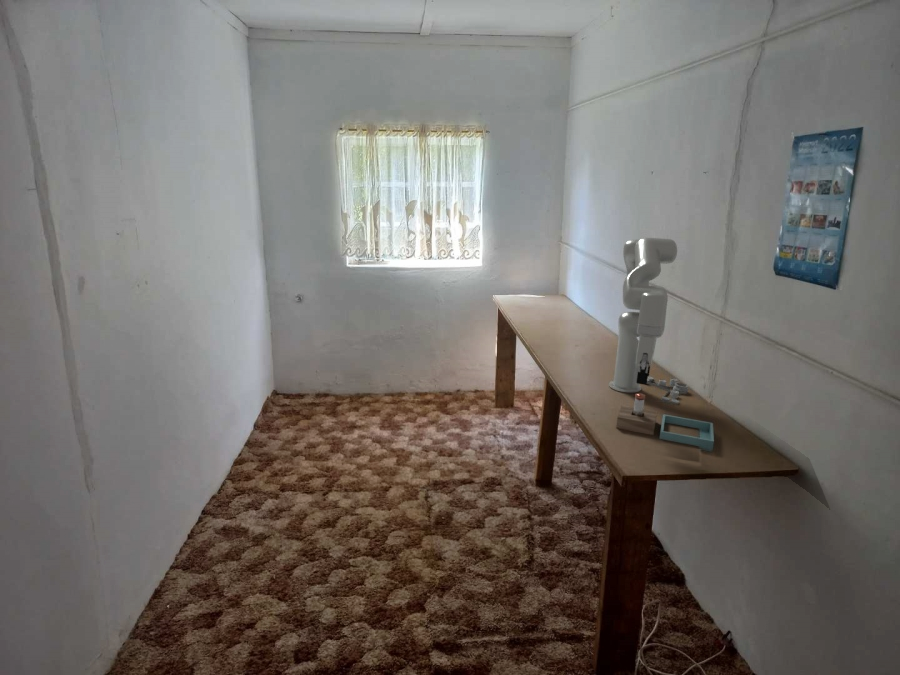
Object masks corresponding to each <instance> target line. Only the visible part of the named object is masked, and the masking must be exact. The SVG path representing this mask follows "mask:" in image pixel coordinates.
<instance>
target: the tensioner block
mask: <svg viewBox="0 0 900 675" xmlns="http://www.w3.org/2000/svg"><path fill="white" fill-rule="evenodd" d="M633 411H634V406H629V405H624V404H621V406H620V409H619V412H618V415H617V419H616V426H615V428H616V429H619V430H625V431H631V432H635V433H640V434H646V435H650V436H655V435H654V434H655V429H656V424H657V423H656V422H657V416H658V411H657V410H653V409H648V408H647V409H646V408H643V414H642V417H639V416H634V415H633Z"/></svg>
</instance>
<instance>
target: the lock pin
mask: <svg viewBox="0 0 900 675" xmlns="http://www.w3.org/2000/svg"><path fill="white" fill-rule="evenodd" d="M634 394H635V397H634V403H633V404H634V405H633V407H634V411H633V415H634V416H639V417H642V414H643V409H644V405H645V399H646V394H644V393H641V392H640V393H639V392H635V393H634Z"/></svg>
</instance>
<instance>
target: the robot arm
mask: <svg viewBox="0 0 900 675" xmlns="http://www.w3.org/2000/svg"><path fill="white" fill-rule="evenodd" d="M677 246H678V245H677V243H676V241H674V240H673V239H671V238H659V237H656V238H655V237H645V238H640V239H629V240H627V241H626V242H625V244H624V245H623V260H624V264H625V267H626V268H625V270H626V277H625V279H624V280H623V284H622V303H623V306H624V307H625V309H628V310H633V311H627V312H623V313H621V314H620V315H619V318H618V322H617V323H618V337H617V338H618V342H617V351H616V358H615V366H614V375H613V380H610V382H609V383H608V386H609V387H610V388H611V389H613V390H615V391H617V392H620V393H634V394H635V393H639V392H640V391H641V390H642V386H641V385H645V386H646V385H648V384H647V378H648V376H649V377H650V370H651V365H652V363H653V359H654V356H655V351H656V350H655V349H656V344H657V339H658V338H661V337H662V336H663V334H664V331H665V327H666V316H667V306H668V301H669V300H668V298H669V297H668V292H667V290H666V288H665V287H663V286H658V285H650V281H652V280H655V279H657V278H658V277H659V276H660V275H661V271H662V266H661V264H662V265H665V264H672V263H674V261H676V259H677V255H678V247H677ZM634 310H635V311H634ZM636 310H637V311H636Z"/></svg>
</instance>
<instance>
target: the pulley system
mask: <svg viewBox="0 0 900 675" xmlns="http://www.w3.org/2000/svg"><path fill="white" fill-rule="evenodd" d="M669 379H670V380H669V383H668V382H667V380H666V379H658V382H657V381H656V379H655V378H654V377H652V376H650V375H649V376H648V378H647V384H646V385H650V386H653V387H656V388H658V389H660V390H663V391H666V393H665V394H664V395H662V396H661V399H660V400H661V402H664V403H668V404H672V405H679V404H680V401H679V400H677V399H678V398H679V396H681V394H683V395H688V393H689V385H687V384H686V383H682V382H679V379H678V378H674V377H671V378H669ZM653 382H654V383H653ZM667 383H668V385H669V386H668V385H667ZM668 394H669V397H667V395H668Z"/></svg>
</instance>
